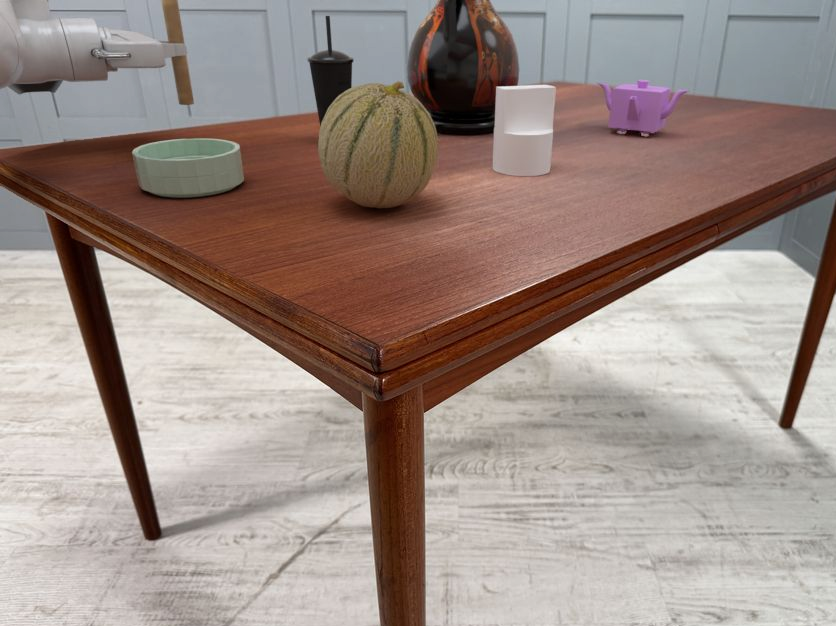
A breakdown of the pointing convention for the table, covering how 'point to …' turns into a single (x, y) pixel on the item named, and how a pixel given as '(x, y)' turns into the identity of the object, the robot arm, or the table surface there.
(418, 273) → the table surface
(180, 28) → the stirring stick
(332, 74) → the drinking cup
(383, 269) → the table surface
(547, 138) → the base with upright slab
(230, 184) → the bowl
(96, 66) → the robot arm
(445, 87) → the amphora vase
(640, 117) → the teapot
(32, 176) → the table surface
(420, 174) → the cantaloupe
